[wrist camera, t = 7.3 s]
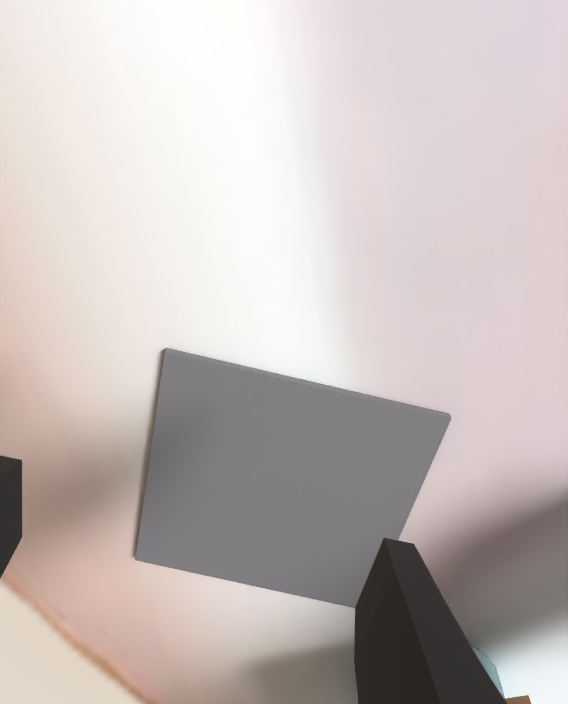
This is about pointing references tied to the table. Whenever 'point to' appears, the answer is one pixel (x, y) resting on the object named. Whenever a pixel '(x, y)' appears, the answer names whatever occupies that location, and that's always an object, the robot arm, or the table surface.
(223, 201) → the table surface
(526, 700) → the cover
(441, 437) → the mat
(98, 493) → the table surface
